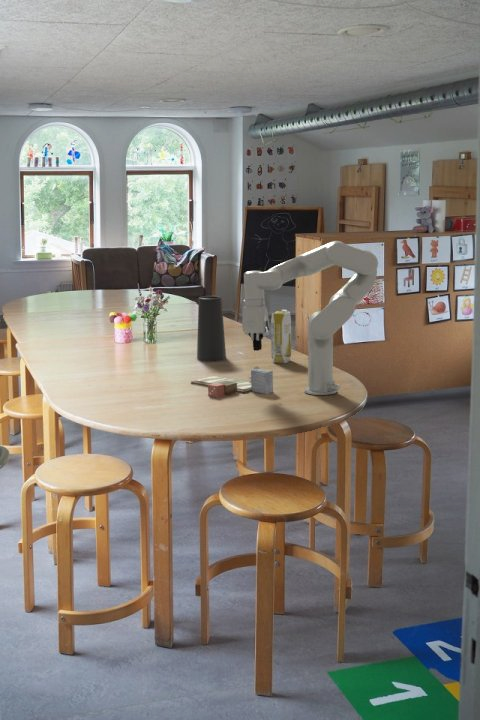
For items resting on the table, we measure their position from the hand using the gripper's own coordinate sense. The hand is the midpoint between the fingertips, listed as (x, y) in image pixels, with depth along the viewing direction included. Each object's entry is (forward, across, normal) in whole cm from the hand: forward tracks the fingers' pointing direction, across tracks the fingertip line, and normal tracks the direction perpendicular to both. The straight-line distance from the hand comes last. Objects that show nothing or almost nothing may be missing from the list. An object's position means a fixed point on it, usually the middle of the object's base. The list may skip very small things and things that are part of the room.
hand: (257, 349), depth 343 cm
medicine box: (+17, 0, +1) cm, 17 cm away
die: (+14, -11, -11) cm, 21 cm away
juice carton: (+18, -26, +55) cm, 63 cm away
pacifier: (+17, -12, +15) cm, 26 cm away
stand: (+16, -10, -8) cm, 21 cm away
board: (+16, -18, +3) cm, 25 cm away
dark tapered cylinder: (+16, -59, +44) cm, 75 cm away
